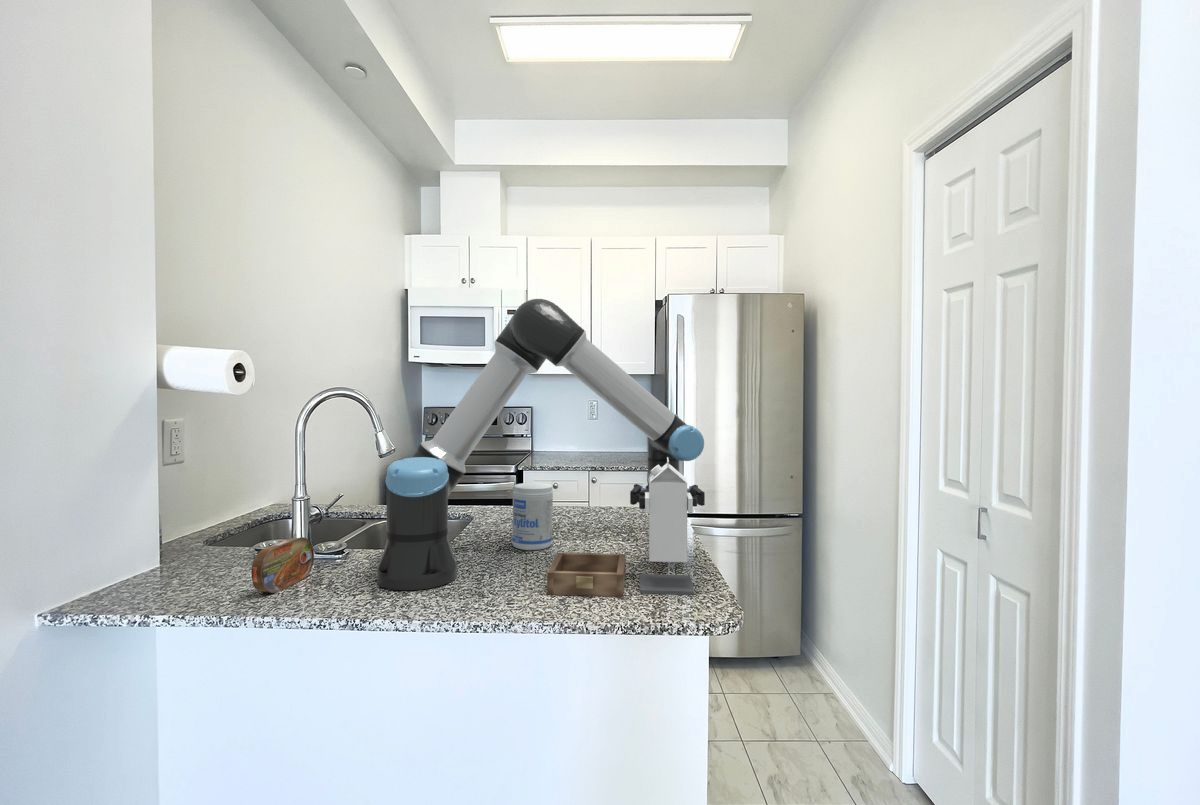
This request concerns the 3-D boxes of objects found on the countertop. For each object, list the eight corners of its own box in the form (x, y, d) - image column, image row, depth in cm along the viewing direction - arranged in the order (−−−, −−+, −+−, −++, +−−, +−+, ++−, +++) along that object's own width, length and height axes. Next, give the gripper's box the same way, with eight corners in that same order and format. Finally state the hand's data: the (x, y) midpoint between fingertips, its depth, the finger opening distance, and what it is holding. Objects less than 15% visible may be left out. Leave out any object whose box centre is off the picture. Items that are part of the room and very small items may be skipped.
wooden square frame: (546, 595, 111) (546, 573, 111) (557, 571, 125) (557, 552, 125) (622, 597, 110) (623, 575, 110) (625, 573, 124) (625, 554, 124)
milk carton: (685, 553, 120) (685, 457, 119) (687, 563, 113) (687, 461, 112) (649, 552, 120) (649, 457, 120) (649, 562, 113) (648, 461, 113)
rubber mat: (639, 593, 112) (639, 590, 112) (640, 576, 122) (640, 573, 122) (694, 594, 111) (694, 591, 111) (690, 578, 121) (690, 575, 121)
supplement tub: (508, 551, 141) (508, 488, 141) (515, 541, 151) (516, 482, 150) (550, 551, 141) (550, 488, 141) (554, 541, 150) (554, 482, 150)
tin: (263, 599, 108) (263, 552, 108) (247, 598, 109) (247, 551, 109) (315, 574, 123) (315, 533, 123) (301, 573, 124) (301, 532, 123)
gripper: (710, 503, 134) (724, 526, 111) (619, 502, 135) (614, 525, 112) (710, 469, 133) (724, 485, 111) (619, 468, 135) (614, 485, 112)
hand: (668, 505), depth 111 cm, fingers closed on milk carton, 7 cm apart
